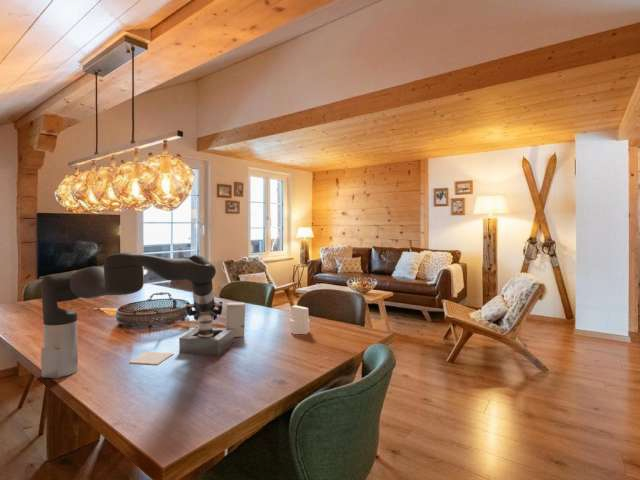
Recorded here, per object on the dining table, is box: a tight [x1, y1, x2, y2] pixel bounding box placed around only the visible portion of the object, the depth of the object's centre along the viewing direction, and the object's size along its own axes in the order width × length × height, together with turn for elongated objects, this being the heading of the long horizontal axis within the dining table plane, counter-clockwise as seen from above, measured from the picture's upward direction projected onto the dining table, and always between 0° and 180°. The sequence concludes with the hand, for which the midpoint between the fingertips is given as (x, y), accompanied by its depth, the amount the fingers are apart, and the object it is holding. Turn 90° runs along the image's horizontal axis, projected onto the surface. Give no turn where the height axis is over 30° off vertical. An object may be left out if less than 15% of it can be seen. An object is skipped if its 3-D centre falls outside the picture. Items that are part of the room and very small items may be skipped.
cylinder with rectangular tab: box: [289, 304, 310, 335], centre depth 173 cm, size 9×9×12 cm
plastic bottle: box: [197, 312, 214, 337], centre depth 149 cm, size 6×7×20 cm
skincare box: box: [225, 301, 246, 338], centre depth 167 cm, size 8×6×15 cm
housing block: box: [178, 326, 235, 357], centre depth 150 cm, size 16×16×6 cm
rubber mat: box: [128, 351, 175, 366], centre depth 137 cm, size 11×11×1 cm
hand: (205, 318), depth 151 cm, fingers closed on plastic bottle, 6 cm apart
